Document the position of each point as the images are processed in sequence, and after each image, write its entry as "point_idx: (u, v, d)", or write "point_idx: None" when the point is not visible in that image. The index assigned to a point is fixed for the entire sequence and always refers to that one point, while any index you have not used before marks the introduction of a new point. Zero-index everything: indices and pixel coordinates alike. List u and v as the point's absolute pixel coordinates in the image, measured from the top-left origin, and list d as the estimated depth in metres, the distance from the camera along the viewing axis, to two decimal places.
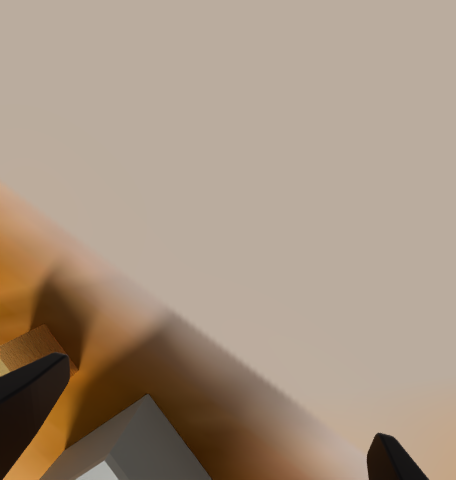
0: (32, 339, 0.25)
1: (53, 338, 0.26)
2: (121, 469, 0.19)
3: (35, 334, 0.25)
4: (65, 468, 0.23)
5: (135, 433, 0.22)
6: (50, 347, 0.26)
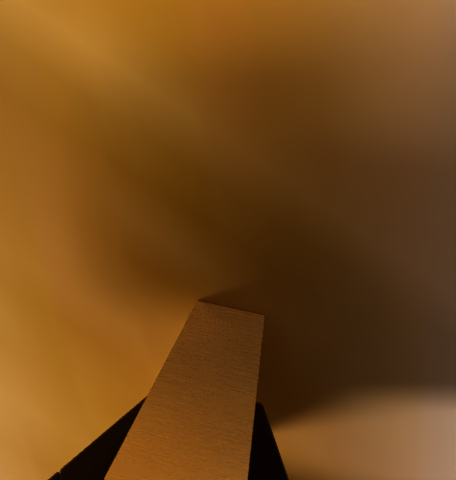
0: None
1: None
2: None
3: None
4: None
5: None
6: None
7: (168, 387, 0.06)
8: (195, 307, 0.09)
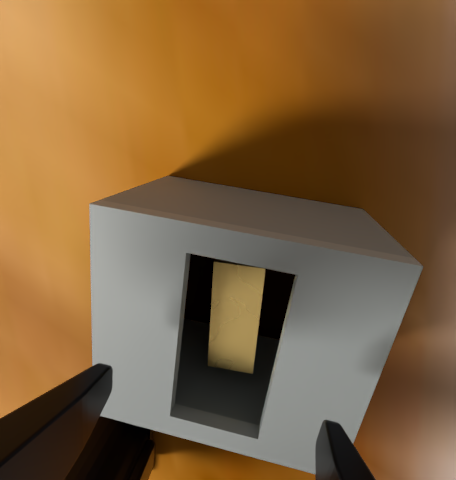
0: None
1: None
2: None
3: None
4: (229, 206, 0.12)
5: None
6: None
7: None
8: None
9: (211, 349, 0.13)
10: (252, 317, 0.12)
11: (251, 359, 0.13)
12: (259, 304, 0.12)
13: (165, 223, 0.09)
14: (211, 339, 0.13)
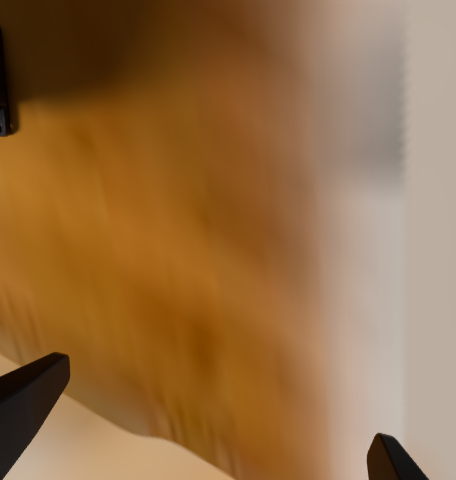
0: None
1: None
2: None
3: None
4: None
5: None
6: None
7: None
8: None
9: None
10: None
11: None
12: None
13: None
14: None
